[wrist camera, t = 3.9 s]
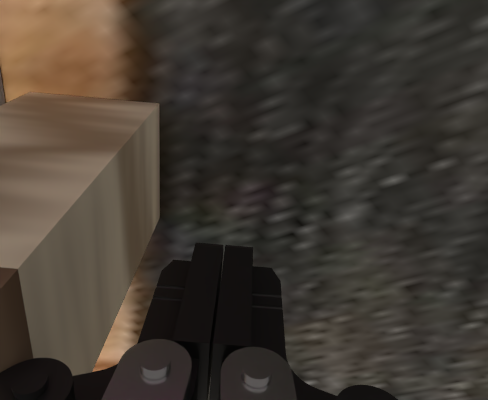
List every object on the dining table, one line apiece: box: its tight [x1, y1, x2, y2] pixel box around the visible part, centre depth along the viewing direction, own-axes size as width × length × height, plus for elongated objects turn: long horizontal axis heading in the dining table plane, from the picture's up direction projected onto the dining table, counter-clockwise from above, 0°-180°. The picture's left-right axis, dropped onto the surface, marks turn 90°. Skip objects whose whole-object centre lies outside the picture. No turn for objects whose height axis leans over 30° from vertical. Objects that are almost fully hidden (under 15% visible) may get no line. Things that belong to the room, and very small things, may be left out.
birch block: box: [0, 92, 160, 376], centre depth 13 cm, size 5×5×12 cm
